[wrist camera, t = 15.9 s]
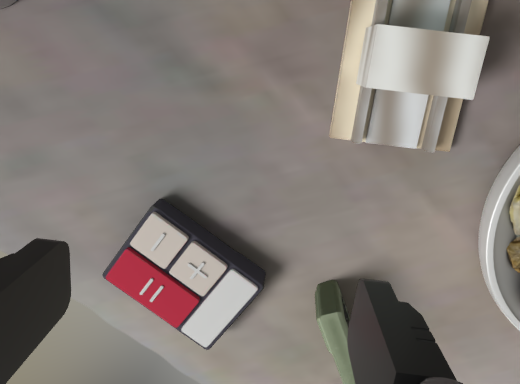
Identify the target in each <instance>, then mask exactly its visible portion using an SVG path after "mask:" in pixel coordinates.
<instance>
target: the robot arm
mask: <svg viewBox="0 0 520 384" xmlns="http://www.w3.org/2000/svg"><path fill="white" fill-rule="evenodd" d="M16 1H17V0H0V9H2V8H5V7H8V6H10V5H12V4H13V3H14V2H16ZM70 297H71V278H70V253H69V246H68V244H67V243H66V242H64V241H56V240H48V239H40V238H37V239H34V240H33V241H31V242H30V243H29V244H27V245H26V246H25V247H23V248H22V249H21V250H19V251H18V252H16V253H15V254H14V253H13V254H10V255H8V256H5V257H3V258H0V384H6V383H7V381H8V380H9V379H10V378H11V377H12V375H13V374H14V373H15V372H16V371H17V369H18V368H19V367H20V366H21V365H22V364H23V362H24V361H25V360H26V359H27V358H28V357H29V355H30V354H31V353H32V352H33V351H34V349H35V348H36V347H37V346H38V344H39V343H40V342H41V341H42V340H43V339H44V338H45V336H46V335H47V334H48V333H49V331H50V330H51V329H52V328H53V327H54V326H55V324H56V323H57V322H58V321H59V320H60V319H61V317H62V316H63V315H64V313H65V312H66V310H67V308H68V305H69V302H70ZM347 345H348V353H349V357H350V362H351V366H352V371H353V375H354V380H355V384H463V383H461V382H458V381H457V380H456V378H455V376H454V374H453V373H452V371H451V369H450V367H449V365H448V363H447V361H446V360H445V358H444V356H443V354H442V352H441V350H440V348H439V346H438V345H437V343H435V339H434V337H433V335H432V333H431V332H429V328H428V326H427V324H426V322H425V320H424V319H423V317H422V315H421V314H420V313H419V312H418V311H416V310H415V309H414V308H413V307H412V306H411V305H410V304H409V303H406V302H398V300H397V298H396V295H395V293H394V291H393V289H392V287H391V285H390V283H389V282H386V281H377V280H369V279H360V280H359V282H358V285H357V289H356V294H355V298H354V303H353V308H352V313H351V318H350V322H349V328H348V337H347Z"/></svg>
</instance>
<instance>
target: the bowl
mask: <svg viewBox="0 0 520 384" xmlns="http://www.w3.org/2000/svg"><path fill="white" fill-rule="evenodd" d="M478 245H479V258H480V264H481V269H482V273H483V276H484V279H485V282H486V285H487V287H488V289H489V292H490V293H491V295H492V297H493V299H494V301H495V302H496V304H497V305H498V307H499V308H500V310H501V311H502V312H503V314H504V315H505V316H506V317H507V318H508V320H509V321H510V322H511V323H512V324H513V325H514V326H515V327H516V328H517V329H518V330H519V331H520V145H519V146H518V148H517V149H516V150H515V151H514V152H513V153H512V155H511V156H510V157H509V159H508V160H507V161H506V163H505V164H504V166H503V167H502V169H501V170H500V172H499V174H498V176H497V177H496V179H495V181H494V183H493V185H492V187H491V189H490V191H489V194H488V196H487V199H486V202H485V205H484V208H483V212H482V216H481V221H480V227H479V239H478Z"/></svg>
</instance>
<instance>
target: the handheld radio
mask: <svg viewBox="0 0 520 384" xmlns="http://www.w3.org/2000/svg"><path fill="white" fill-rule="evenodd" d="M315 304H316V320H317V322H318V325H319V328H320V331H321V333H322V336H323V339H324V341H325V344H326V347H327V349H328V351H329V352H330V353H332V355H333V357H334V360H335V363H336V366H337V368H338V371H339V374H340V376H341V379H342V382H343V384H355V380H354V375H353V371H352V366H351V362H350V357H349V353H348V345H347V337H348V328H349V322H350V317H349V314H348V311H347V309H346V306H345V303H344V300H343V297H342V294H341V291H340V289H339V286H338V283H337V282H336V281H335V280H330V281H326V282H323V283H320V284H318V286H317V290H316V292H315Z"/></svg>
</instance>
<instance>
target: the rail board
mask: <svg viewBox="0 0 520 384" xmlns="http://www.w3.org/2000/svg"><path fill="white" fill-rule="evenodd" d="M488 1H489V0H351V5H350V11H349V17H348V23H347V29H346V36H345V42H344V48H343V54H342V60H341V66H340V72H339V79H338V85H337V91H336V97H335V103H334V109H333V115H332V122H331V128H330V134H329V136H330V138H337V139H345V140H351V141H352V142H353V143H357V144H361V143H362V142H366V143H372V144H381V145H389V146H398V147H406V148H415V149H416V148H421V149H423V150H424V151H426V152H433V153H434V152H435V150H439V151H448V152H450V148H451V144H452V140H453V136H454V132H455V129H456V125H457V121H458V117H459V113H460V109H461V105H462V101H463V99H469V100H473V99H474V95H475V91H476V87H477V84H478V80H479V76H480V72H481V69H482V65H483V61H484V57H485V54H486V50H487V46H488V42H489V39H490V37H489V36H480V32H481V28H482V24H483V20H484V16H485V12H486V9H487V5H488Z"/></svg>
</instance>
